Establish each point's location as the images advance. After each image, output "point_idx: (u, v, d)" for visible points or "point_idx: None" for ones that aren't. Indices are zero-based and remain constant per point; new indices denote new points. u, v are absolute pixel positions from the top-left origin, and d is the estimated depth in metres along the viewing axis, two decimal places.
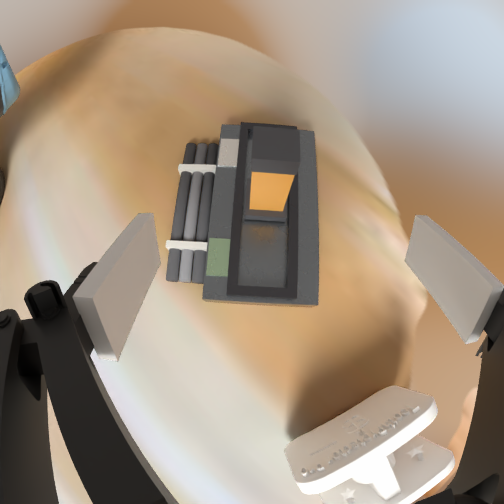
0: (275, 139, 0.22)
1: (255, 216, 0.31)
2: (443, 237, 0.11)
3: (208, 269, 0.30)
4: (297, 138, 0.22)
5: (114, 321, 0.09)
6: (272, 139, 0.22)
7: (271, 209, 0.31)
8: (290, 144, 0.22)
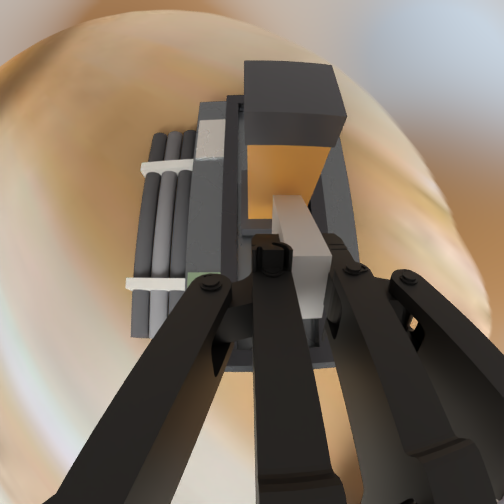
0: (289, 78, 0.10)
1: (259, 229, 0.19)
2: (296, 212, 0.13)
3: None
4: (331, 77, 0.10)
5: None
6: (283, 78, 0.10)
7: None
8: (320, 86, 0.10)
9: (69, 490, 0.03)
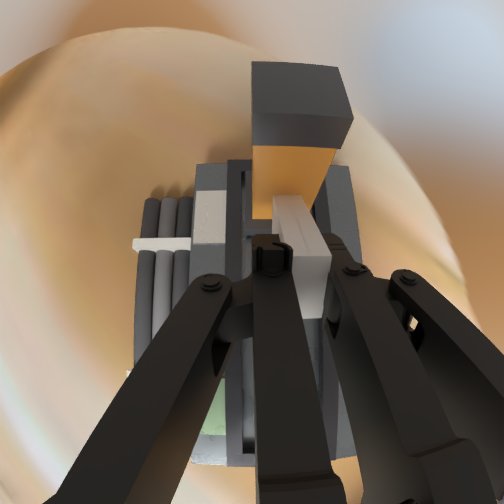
0: (296, 79, 0.10)
1: (263, 230, 0.19)
2: (296, 212, 0.13)
3: None
4: (337, 79, 0.10)
5: None
6: (291, 80, 0.10)
7: None
8: (327, 88, 0.10)
9: (69, 490, 0.03)
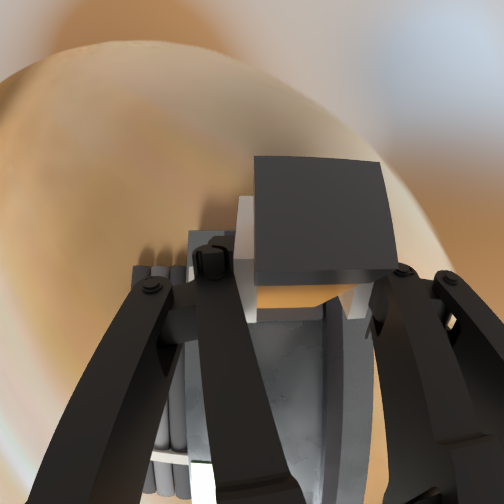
0: (322, 196, 0.07)
1: (266, 320, 0.16)
2: None
3: (197, 502, 0.14)
4: (379, 189, 0.08)
5: None
6: (314, 196, 0.07)
7: (295, 307, 0.16)
8: (365, 210, 0.07)
9: (38, 496, 0.02)
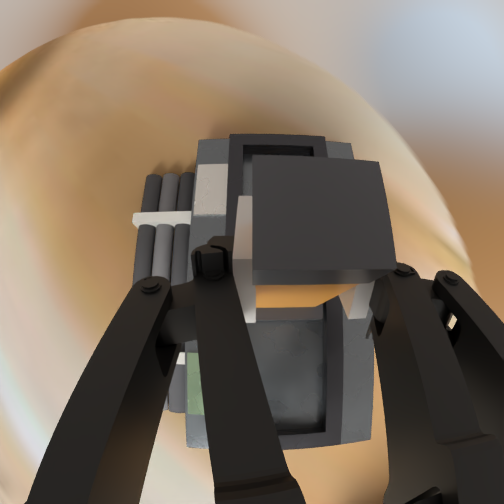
0: (320, 195, 0.07)
1: (266, 320, 0.16)
2: None
3: (190, 406, 0.16)
4: (378, 188, 0.08)
5: None
6: (311, 196, 0.07)
7: (295, 306, 0.16)
8: (363, 209, 0.07)
9: (37, 496, 0.02)
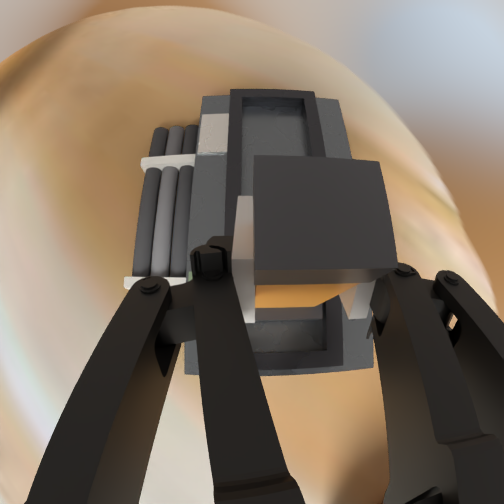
0: (321, 195, 0.07)
1: (266, 320, 0.16)
2: None
3: None
4: (379, 188, 0.08)
5: None
6: (313, 196, 0.07)
7: (294, 306, 0.16)
8: (364, 209, 0.07)
9: (37, 496, 0.02)
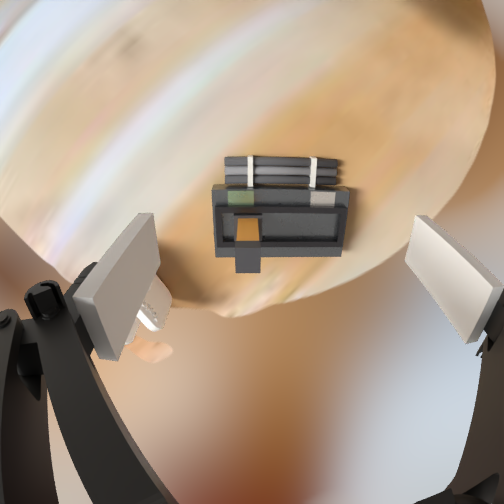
0: (250, 260, 0.38)
1: None
2: (443, 237, 0.11)
3: (231, 192, 0.45)
4: (253, 271, 0.39)
5: (114, 321, 0.09)
6: (250, 258, 0.38)
7: None
8: (247, 268, 0.38)
9: None
